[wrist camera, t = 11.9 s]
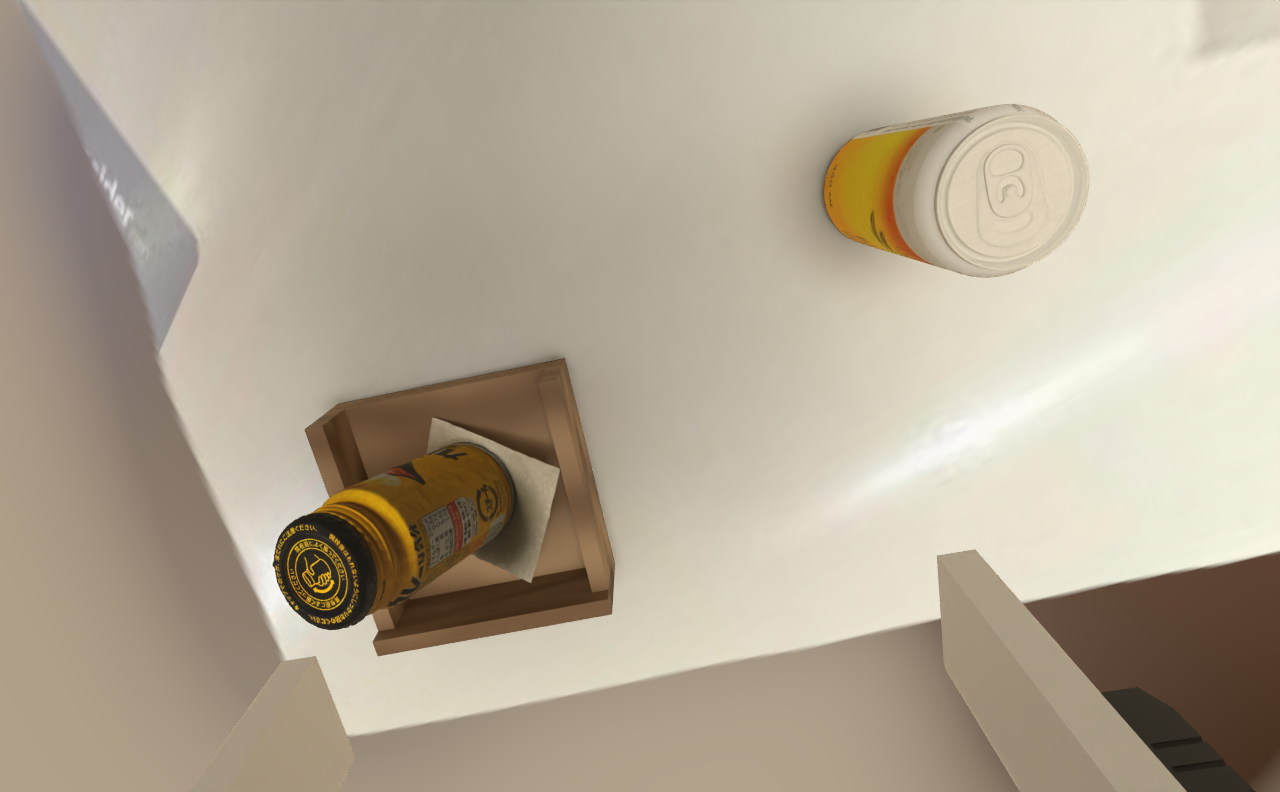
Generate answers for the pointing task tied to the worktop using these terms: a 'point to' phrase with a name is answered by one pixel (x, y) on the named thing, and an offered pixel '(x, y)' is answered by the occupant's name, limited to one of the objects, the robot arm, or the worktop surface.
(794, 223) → the worktop surface
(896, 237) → the beer can
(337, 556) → the condiment
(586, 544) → the wooden serving tray
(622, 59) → the worktop surface
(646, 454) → the worktop surface
